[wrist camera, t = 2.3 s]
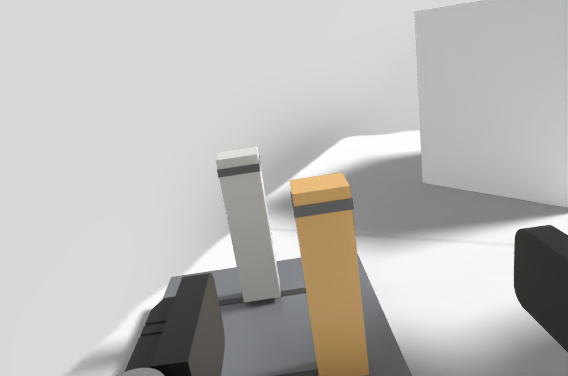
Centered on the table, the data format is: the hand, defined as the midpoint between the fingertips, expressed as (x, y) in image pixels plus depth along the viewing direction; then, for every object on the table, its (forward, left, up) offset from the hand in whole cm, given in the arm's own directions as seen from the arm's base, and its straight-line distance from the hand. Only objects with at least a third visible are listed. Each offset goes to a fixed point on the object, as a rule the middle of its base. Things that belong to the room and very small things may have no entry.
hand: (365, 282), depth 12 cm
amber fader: (0, -13, -13) cm, 18 cm away
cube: (-35, -52, -17) cm, 65 cm away
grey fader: (+5, -23, -13) cm, 27 cm away
